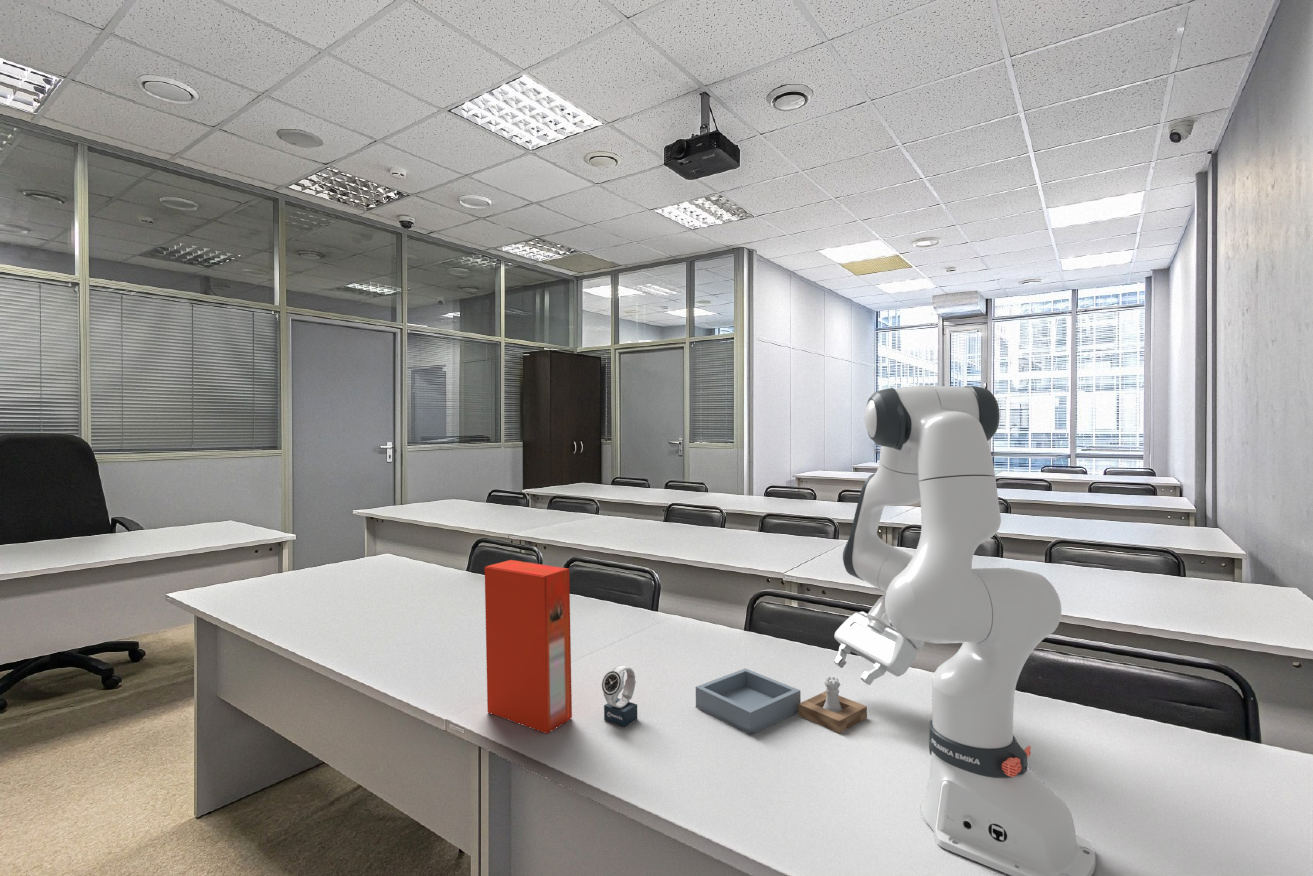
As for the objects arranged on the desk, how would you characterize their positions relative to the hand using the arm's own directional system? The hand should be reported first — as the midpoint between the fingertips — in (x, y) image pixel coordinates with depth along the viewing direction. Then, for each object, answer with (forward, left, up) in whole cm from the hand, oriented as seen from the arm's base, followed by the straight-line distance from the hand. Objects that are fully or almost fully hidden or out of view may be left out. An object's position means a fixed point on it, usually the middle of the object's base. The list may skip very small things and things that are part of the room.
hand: (850, 673), depth 129 cm
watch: (+30, +39, -9) cm, 50 cm away
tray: (+16, +15, -9) cm, 24 cm away
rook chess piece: (+2, +4, -9) cm, 10 cm away
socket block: (+2, +4, -9) cm, 10 cm away
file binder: (+44, +53, -9) cm, 69 cm away
